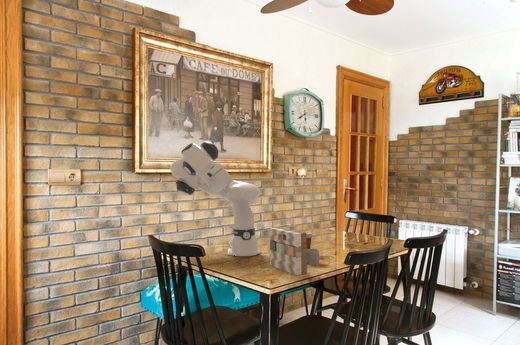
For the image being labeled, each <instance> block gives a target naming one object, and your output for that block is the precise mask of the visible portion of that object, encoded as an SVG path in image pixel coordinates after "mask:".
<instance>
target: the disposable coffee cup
mask: <svg viewBox="0 0 520 345" xmlns="http://www.w3.org/2000/svg"><path fill="white" fill-rule="evenodd" d="M304 232H305V233H306V241H307V249H311V244H312V237H313V234H312V232H310V231H304Z"/></svg>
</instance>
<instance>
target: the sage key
mask: <svg viewBox="0 0 520 345" xmlns="http://www.w3.org/2000/svg"><path fill="white" fill-rule="evenodd" d="M276 246H277V253H280V254H284V253H286V252H285V244H283V243H278V244H276Z"/></svg>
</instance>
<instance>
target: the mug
mask: <svg viewBox="0 0 520 345" xmlns="http://www.w3.org/2000/svg"><path fill="white" fill-rule="evenodd" d="M318 265H320V249H317V248H310V249H307V266H318Z"/></svg>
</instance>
